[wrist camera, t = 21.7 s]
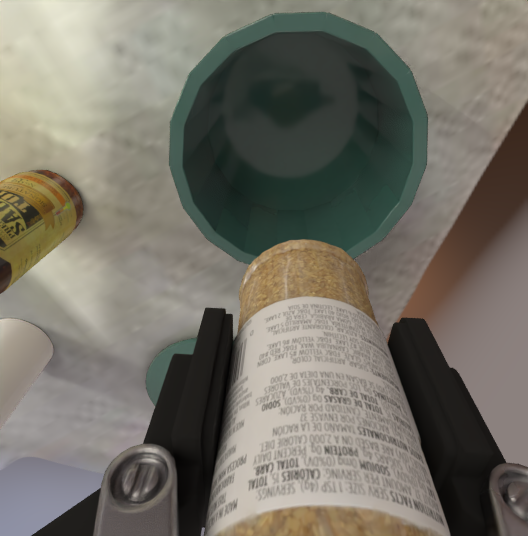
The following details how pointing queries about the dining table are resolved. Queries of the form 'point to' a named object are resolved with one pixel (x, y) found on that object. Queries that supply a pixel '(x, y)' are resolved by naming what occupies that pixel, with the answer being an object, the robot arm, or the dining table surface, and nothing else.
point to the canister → (298, 136)
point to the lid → (165, 366)
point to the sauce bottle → (34, 220)
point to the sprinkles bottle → (316, 411)
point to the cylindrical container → (20, 361)
